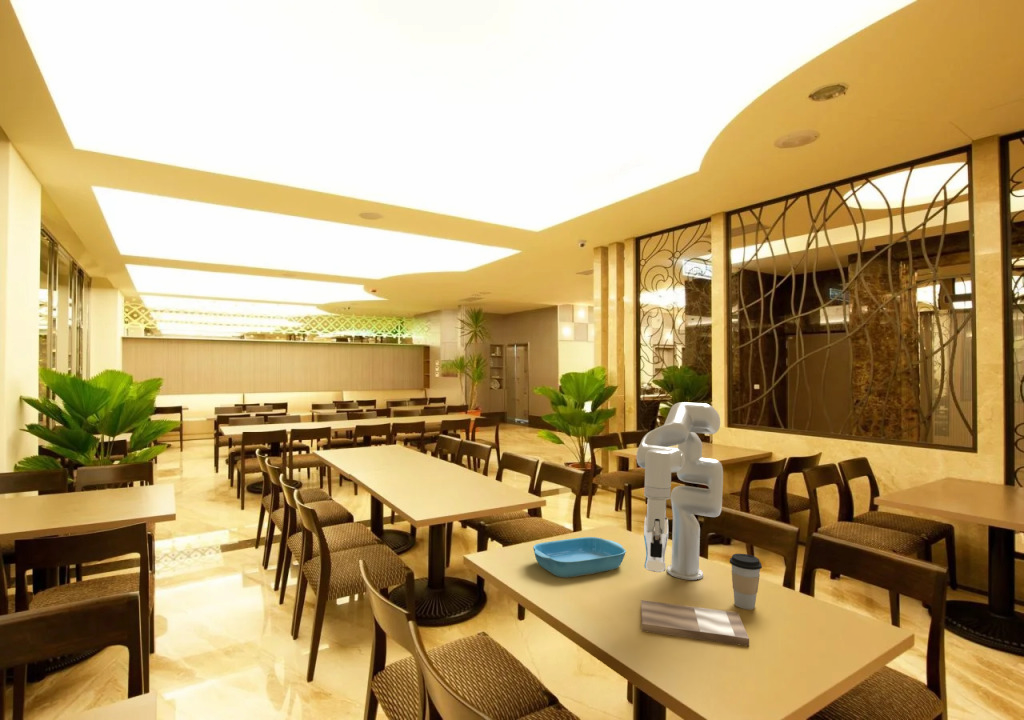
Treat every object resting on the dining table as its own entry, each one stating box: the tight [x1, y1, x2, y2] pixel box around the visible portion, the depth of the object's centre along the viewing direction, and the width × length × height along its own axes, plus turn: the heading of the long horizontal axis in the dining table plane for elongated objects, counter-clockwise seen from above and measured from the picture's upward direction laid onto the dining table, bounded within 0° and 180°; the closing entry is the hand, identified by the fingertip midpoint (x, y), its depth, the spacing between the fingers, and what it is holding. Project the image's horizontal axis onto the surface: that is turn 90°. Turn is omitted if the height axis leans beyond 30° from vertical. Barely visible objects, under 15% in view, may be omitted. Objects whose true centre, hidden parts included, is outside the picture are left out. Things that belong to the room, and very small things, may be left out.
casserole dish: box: [532, 536, 627, 578], centre depth 196 cm, size 37×22×7 cm, turn 119°
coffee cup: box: [729, 553, 763, 610], centre depth 167 cm, size 9×9×15 cm
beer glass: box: [643, 514, 669, 573], centre depth 156 cm, size 7×7×15 cm
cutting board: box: [640, 599, 750, 647], centre depth 152 cm, size 16×28×2 cm, turn 77°
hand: (655, 552), depth 156 cm, fingers closed on beer glass, 6 cm apart
